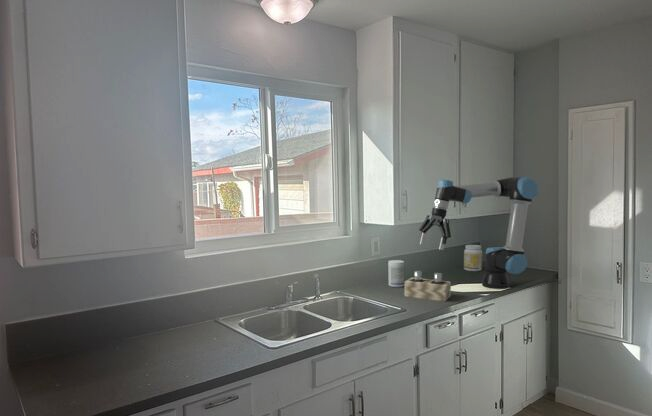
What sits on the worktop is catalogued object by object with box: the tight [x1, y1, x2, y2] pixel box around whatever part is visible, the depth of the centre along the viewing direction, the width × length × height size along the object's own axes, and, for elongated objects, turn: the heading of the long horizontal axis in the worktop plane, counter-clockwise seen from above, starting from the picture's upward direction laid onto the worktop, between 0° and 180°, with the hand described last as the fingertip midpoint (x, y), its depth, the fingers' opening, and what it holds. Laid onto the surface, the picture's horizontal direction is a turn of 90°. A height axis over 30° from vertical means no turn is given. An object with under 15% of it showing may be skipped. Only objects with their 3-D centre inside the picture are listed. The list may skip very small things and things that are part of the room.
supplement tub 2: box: [463, 244, 483, 272], centre depth 323 cm, size 12×12×17 cm
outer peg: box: [413, 270, 423, 282], centre depth 253 cm, size 4×4×7 cm
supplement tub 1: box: [387, 259, 406, 288], centre depth 275 cm, size 10×10×15 cm
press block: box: [403, 277, 452, 302], centre depth 251 cm, size 22×12×8 cm, turn 62°
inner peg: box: [433, 272, 443, 284], centre depth 248 cm, size 4×4×7 cm
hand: (431, 247), depth 248 cm, fingers open, 13 cm apart
